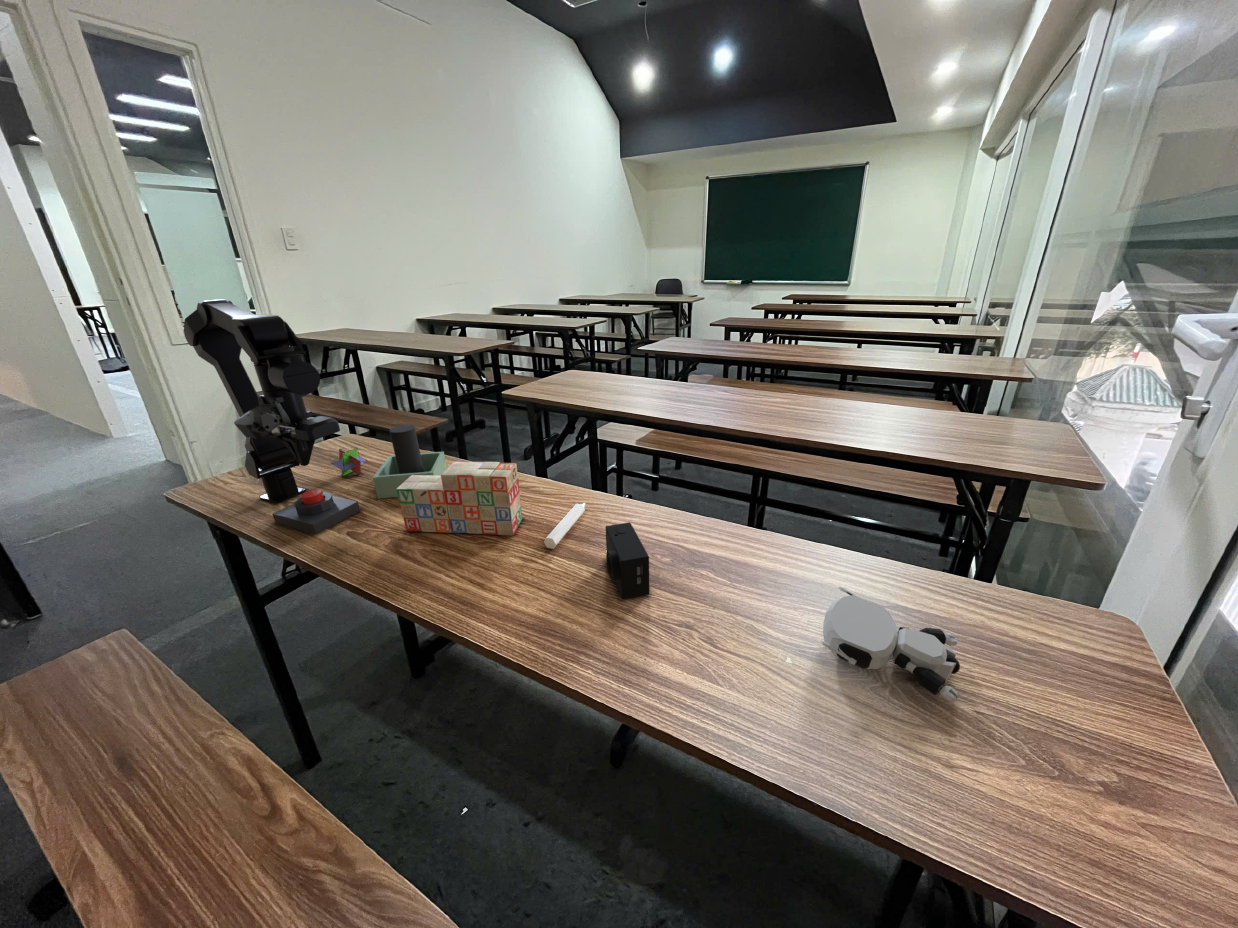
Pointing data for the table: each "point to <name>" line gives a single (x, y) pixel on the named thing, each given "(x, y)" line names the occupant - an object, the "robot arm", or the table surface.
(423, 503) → the stack of blocks
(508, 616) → the table surface
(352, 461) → the geometric puzzle
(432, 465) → the tote
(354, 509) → the control block
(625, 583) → the digital camera
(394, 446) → the dark grey cylinder
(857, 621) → the robot toy
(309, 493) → the button
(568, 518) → the marker
